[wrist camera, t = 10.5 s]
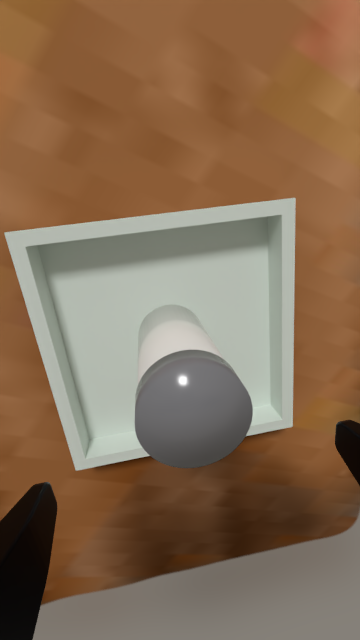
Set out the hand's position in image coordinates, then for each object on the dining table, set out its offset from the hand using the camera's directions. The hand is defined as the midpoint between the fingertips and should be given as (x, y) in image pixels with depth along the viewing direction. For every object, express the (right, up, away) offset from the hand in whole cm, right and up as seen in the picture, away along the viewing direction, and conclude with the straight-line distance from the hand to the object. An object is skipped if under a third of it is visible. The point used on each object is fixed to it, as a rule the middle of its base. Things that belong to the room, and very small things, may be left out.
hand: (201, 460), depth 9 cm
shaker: (-1, +3, +11) cm, 11 cm away
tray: (-1, +3, +11) cm, 12 cm away
